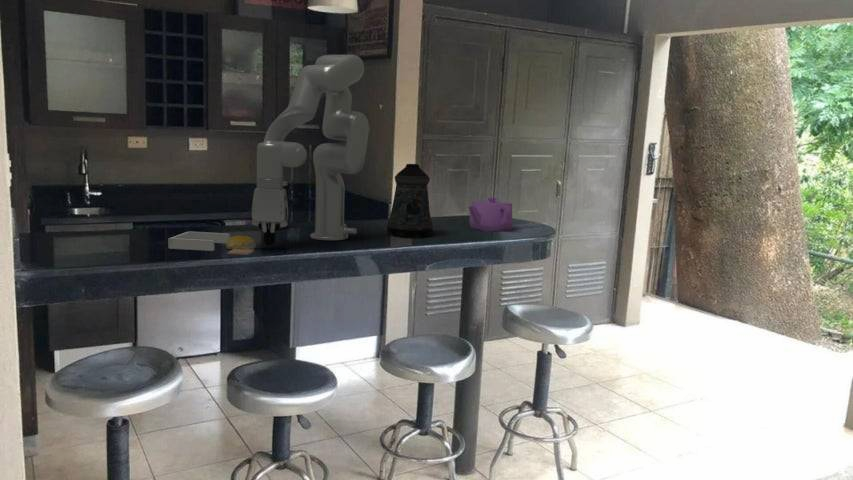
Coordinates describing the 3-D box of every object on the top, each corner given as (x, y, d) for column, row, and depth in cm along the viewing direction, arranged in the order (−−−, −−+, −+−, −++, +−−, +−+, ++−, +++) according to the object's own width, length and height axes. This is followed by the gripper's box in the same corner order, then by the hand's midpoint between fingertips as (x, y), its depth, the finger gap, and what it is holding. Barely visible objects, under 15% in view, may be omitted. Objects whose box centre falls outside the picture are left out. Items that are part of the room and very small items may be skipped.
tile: (254, 251, 207) (254, 249, 207) (247, 255, 201) (247, 253, 201) (234, 250, 208) (234, 248, 208) (227, 254, 202) (227, 252, 202)
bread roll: (240, 245, 218) (239, 232, 217) (260, 248, 213) (260, 235, 213) (219, 248, 211) (219, 235, 210) (240, 252, 206) (240, 238, 206)
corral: (230, 243, 219) (229, 233, 219) (213, 250, 206) (213, 240, 205) (188, 240, 220) (187, 231, 220) (168, 248, 207) (168, 238, 206)
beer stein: (395, 239, 239) (397, 165, 235) (378, 230, 257) (379, 162, 253) (439, 237, 245) (442, 166, 241) (420, 229, 263) (422, 162, 259)
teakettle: (511, 233, 263) (512, 200, 261) (466, 230, 266) (467, 198, 264) (513, 227, 280) (515, 196, 278) (470, 224, 282) (472, 194, 280)
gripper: (297, 184, 211) (297, 244, 214) (249, 182, 212) (249, 241, 215) (291, 186, 204) (290, 248, 207) (241, 184, 205) (241, 246, 208)
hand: (269, 245), depth 211 cm, fingers closed
